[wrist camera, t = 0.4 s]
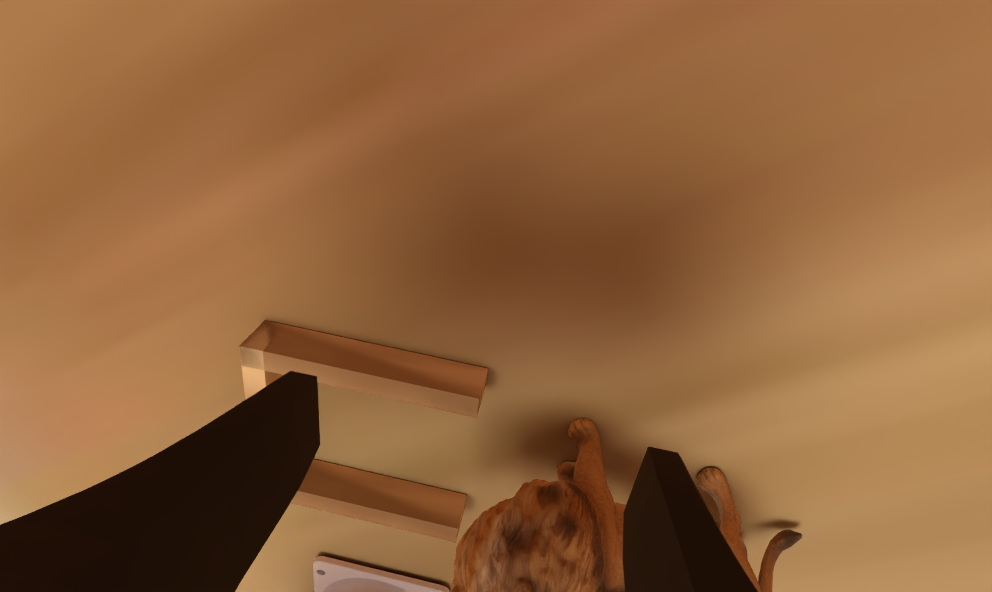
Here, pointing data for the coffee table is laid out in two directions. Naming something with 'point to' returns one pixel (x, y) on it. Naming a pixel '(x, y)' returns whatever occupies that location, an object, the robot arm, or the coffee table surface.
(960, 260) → the coffee table surface
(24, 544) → the robot arm
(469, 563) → the lion figurine
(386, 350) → the wooden frame
